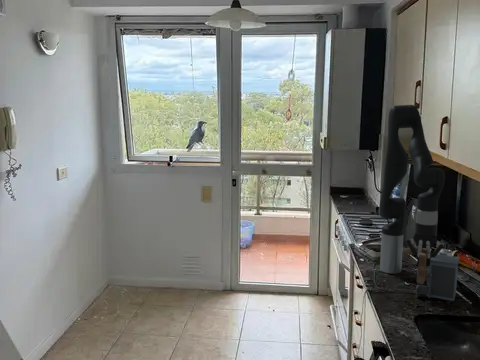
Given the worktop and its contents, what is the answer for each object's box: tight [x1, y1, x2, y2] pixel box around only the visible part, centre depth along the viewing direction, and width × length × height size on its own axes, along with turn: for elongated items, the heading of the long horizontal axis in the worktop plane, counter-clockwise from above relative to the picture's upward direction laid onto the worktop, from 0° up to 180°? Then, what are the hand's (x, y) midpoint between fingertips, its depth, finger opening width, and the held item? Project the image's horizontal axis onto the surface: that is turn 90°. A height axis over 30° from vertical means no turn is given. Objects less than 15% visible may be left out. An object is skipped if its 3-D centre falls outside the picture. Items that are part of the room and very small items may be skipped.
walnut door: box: [416, 248, 428, 285], centre depth 182 cm, size 12×3×11 cm, turn 152°
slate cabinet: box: [415, 254, 460, 302], centre depth 190 cm, size 12×14×15 cm
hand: (423, 266), depth 182 cm, fingers closed on walnut door, 2 cm apart
